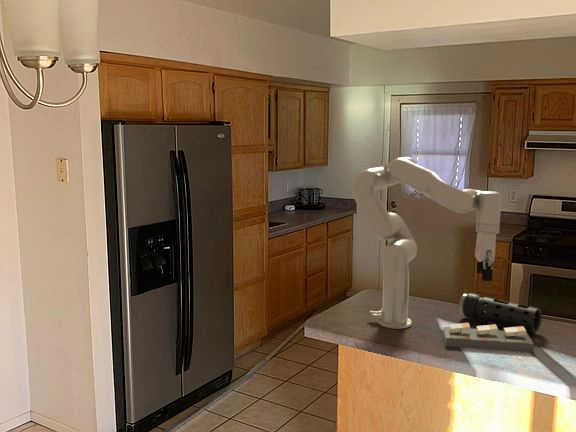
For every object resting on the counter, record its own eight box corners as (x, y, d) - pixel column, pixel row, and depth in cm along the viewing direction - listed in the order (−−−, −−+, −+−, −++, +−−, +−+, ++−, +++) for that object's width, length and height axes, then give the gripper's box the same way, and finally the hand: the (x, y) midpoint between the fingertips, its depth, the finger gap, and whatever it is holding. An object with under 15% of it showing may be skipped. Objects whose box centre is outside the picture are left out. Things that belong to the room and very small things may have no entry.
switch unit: (445, 346, 194) (446, 335, 193) (442, 334, 205) (443, 324, 204) (533, 352, 189) (534, 341, 188) (525, 340, 200) (526, 330, 199)
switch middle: (478, 334, 194) (478, 330, 194) (476, 329, 199) (476, 325, 199) (498, 332, 193) (498, 328, 193) (496, 328, 198) (495, 323, 198)
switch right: (506, 336, 193) (506, 332, 193) (504, 331, 197) (503, 327, 197) (526, 334, 192) (526, 330, 191) (523, 329, 196) (523, 325, 196)
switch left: (451, 332, 196) (450, 328, 196) (450, 328, 201) (449, 324, 200) (470, 331, 195) (470, 326, 194) (468, 326, 199) (468, 322, 199)
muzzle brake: (530, 339, 201) (533, 311, 200) (457, 320, 220) (458, 294, 218) (540, 332, 208) (543, 305, 206) (468, 314, 227) (469, 289, 225)
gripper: (471, 223, 203) (468, 269, 206) (480, 232, 186) (477, 283, 189) (493, 223, 202) (490, 271, 205) (504, 233, 185) (500, 284, 188)
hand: (483, 276), depth 197 cm, fingers open, 9 cm apart
